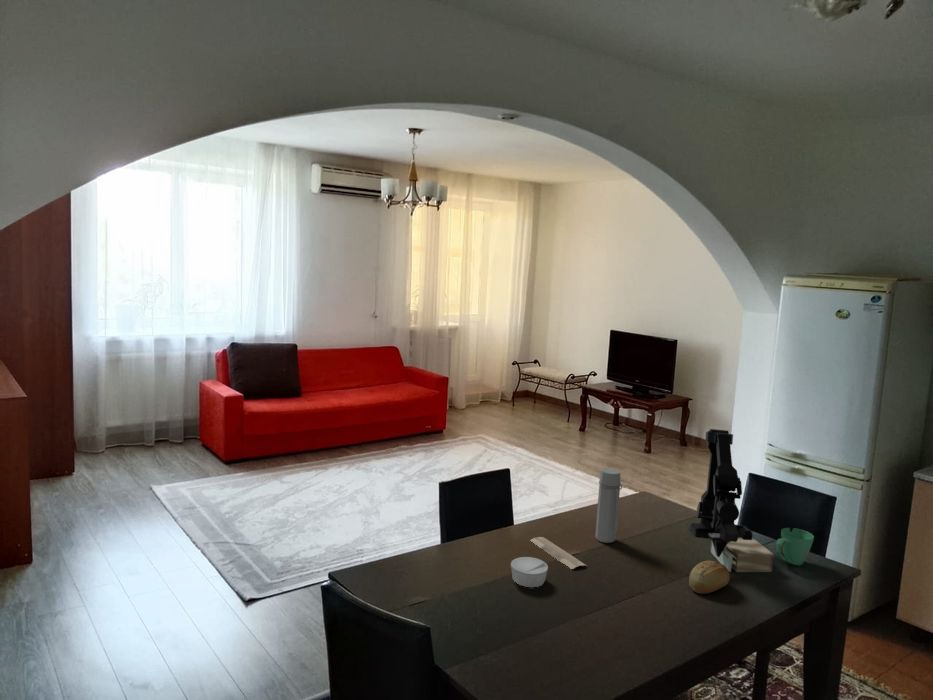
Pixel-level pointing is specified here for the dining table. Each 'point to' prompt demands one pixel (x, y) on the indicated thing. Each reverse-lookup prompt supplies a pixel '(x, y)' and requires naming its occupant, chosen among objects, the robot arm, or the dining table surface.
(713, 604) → the dining table surface
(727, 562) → the door
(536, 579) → the ramekin
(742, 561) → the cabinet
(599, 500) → the water bottle
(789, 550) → the mug
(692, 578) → the bread roll
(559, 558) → the newspaper
